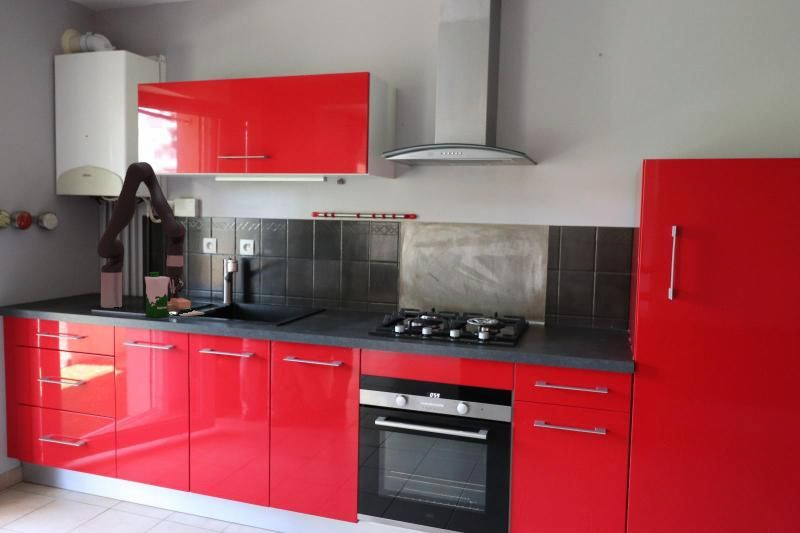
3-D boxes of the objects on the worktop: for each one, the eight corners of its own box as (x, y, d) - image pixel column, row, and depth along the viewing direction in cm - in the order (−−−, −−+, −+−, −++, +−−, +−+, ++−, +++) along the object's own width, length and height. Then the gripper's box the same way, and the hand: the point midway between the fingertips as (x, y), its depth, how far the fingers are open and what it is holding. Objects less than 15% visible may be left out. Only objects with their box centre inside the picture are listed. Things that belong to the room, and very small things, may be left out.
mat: (168, 314, 309) (168, 312, 309) (190, 311, 318) (190, 310, 318) (181, 316, 302) (181, 314, 302) (204, 314, 312) (204, 312, 312)
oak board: (153, 311, 316) (153, 302, 316) (175, 308, 326) (175, 300, 325) (168, 313, 309) (168, 305, 308) (190, 311, 318) (190, 303, 318)
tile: (170, 303, 312) (170, 298, 312) (181, 302, 317) (182, 297, 316) (178, 307, 307) (179, 302, 307) (190, 306, 312) (190, 301, 311)
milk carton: (159, 314, 307) (159, 271, 305) (171, 316, 302) (171, 272, 300) (142, 316, 299) (142, 272, 298) (155, 318, 294) (155, 273, 293)
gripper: (160, 264, 316) (159, 300, 317) (176, 266, 307) (176, 303, 309) (174, 263, 321) (173, 299, 323) (190, 265, 313) (189, 301, 315)
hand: (174, 301), depth 316 cm, fingers closed
